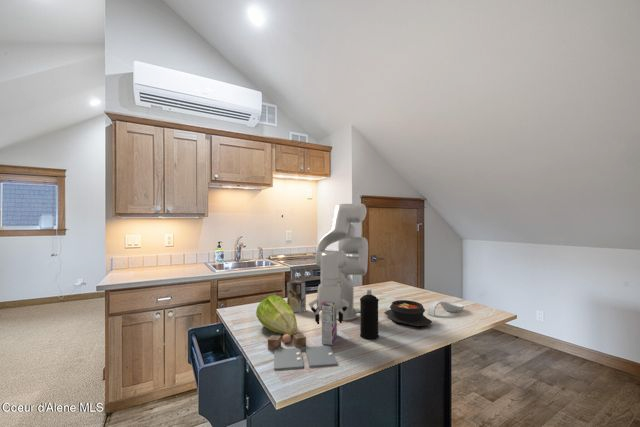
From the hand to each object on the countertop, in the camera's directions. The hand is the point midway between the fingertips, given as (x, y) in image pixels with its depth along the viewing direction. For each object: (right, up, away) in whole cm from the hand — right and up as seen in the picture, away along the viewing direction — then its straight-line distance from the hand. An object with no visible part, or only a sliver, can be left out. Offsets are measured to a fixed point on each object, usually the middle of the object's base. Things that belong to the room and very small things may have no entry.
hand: (329, 322), depth 119 cm
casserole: (+40, -8, +23) cm, 47 cm away
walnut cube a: (-12, -7, -6) cm, 15 cm away
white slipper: (+65, -9, +36) cm, 75 cm away
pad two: (-15, -7, -16) cm, 23 cm away
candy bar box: (0, -8, 0) cm, 8 cm away
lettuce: (-23, -8, +11) cm, 26 cm away
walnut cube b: (-22, -7, -7) cm, 24 cm away
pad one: (-4, -7, -14) cm, 16 cm away
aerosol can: (+18, -8, +4) cm, 20 cm away
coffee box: (-17, -8, +38) cm, 43 cm away
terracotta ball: (-18, -5, -3) cm, 19 cm away
